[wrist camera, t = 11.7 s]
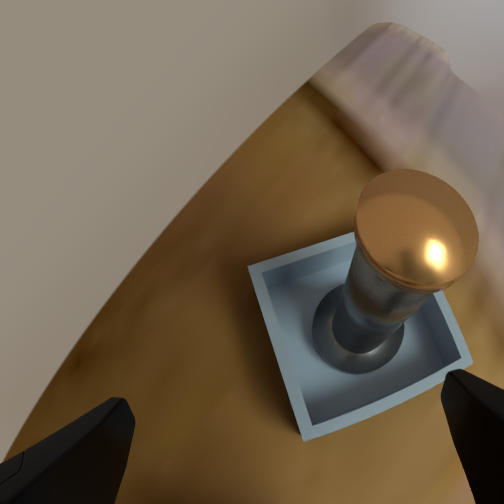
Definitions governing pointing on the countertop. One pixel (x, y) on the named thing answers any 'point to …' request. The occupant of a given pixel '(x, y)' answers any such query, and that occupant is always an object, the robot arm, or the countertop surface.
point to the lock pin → (393, 267)
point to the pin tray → (317, 370)
